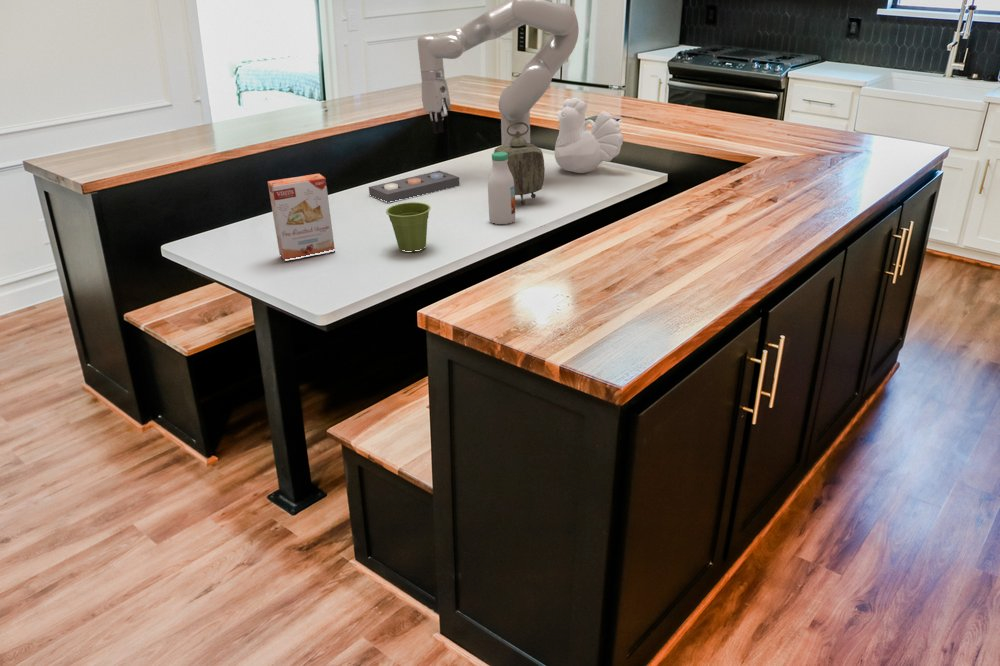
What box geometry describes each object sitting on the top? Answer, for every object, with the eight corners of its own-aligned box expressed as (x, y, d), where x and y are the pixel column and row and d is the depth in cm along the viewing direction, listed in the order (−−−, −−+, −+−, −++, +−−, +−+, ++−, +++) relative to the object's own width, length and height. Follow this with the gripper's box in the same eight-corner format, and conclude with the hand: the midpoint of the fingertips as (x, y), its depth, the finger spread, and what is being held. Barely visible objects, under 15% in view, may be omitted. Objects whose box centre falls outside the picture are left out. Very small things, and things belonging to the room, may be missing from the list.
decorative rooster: (545, 171, 279) (544, 99, 268) (575, 162, 289) (575, 92, 278) (599, 183, 263) (600, 107, 252) (629, 173, 272) (631, 100, 261)
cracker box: (285, 263, 208) (271, 185, 198) (279, 256, 212) (266, 180, 203) (336, 253, 213) (325, 177, 204) (330, 246, 218) (319, 172, 209)
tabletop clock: (537, 196, 253) (535, 117, 241) (547, 204, 245) (546, 122, 234) (494, 202, 249) (490, 121, 238) (502, 210, 241) (499, 127, 230)
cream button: (401, 194, 258) (400, 185, 257) (389, 196, 256) (388, 187, 255) (394, 191, 262) (393, 182, 260) (382, 194, 259) (381, 185, 258)
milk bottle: (506, 226, 227) (504, 157, 218) (484, 223, 231) (480, 155, 222) (520, 219, 233) (518, 151, 224) (498, 215, 236) (495, 149, 227)
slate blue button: (446, 183, 268) (445, 174, 267) (435, 185, 266) (434, 177, 264) (439, 180, 271) (438, 172, 270) (428, 183, 269) (427, 174, 268)
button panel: (459, 185, 267) (459, 177, 266) (388, 203, 252) (387, 194, 251) (439, 179, 276) (439, 170, 274) (369, 195, 261) (368, 186, 259)
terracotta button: (424, 188, 263) (423, 179, 262) (413, 191, 261) (412, 182, 260) (417, 185, 266) (416, 177, 265) (405, 188, 264) (405, 179, 263)
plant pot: (395, 241, 220) (391, 202, 214) (437, 241, 218) (434, 201, 213) (385, 256, 209) (381, 216, 204) (429, 256, 208) (426, 215, 203)
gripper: (455, 75, 252) (460, 133, 260) (428, 72, 263) (434, 127, 271) (436, 79, 248) (442, 137, 256) (410, 75, 259) (416, 132, 267)
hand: (438, 132), depth 264 cm, fingers closed
